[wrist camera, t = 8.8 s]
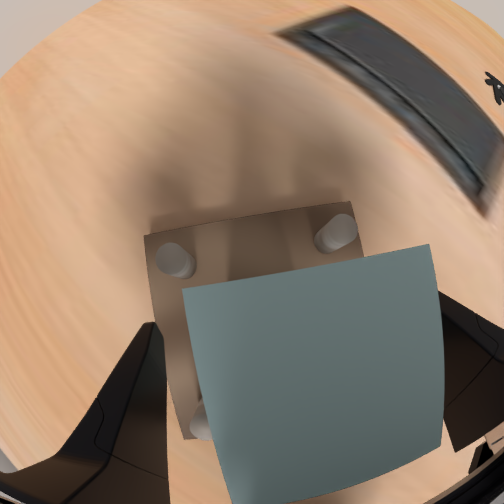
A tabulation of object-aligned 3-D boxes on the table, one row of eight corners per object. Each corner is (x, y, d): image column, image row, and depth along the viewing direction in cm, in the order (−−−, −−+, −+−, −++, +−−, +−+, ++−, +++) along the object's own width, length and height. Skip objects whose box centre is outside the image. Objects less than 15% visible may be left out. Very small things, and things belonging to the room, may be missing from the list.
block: (309, 352, 17) (440, 445, 4) (240, 365, 16) (234, 509, 4) (298, 283, 17) (429, 243, 4) (227, 296, 17) (181, 288, 4)
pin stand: (376, 392, 17) (408, 412, 13) (187, 432, 16) (173, 464, 12) (344, 206, 19) (370, 181, 15) (149, 239, 19) (122, 221, 14)
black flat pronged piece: (502, 114, 24) (504, 112, 23) (472, 73, 25) (475, 70, 24) (518, 110, 25) (521, 108, 24) (493, 74, 26) (495, 72, 25)
